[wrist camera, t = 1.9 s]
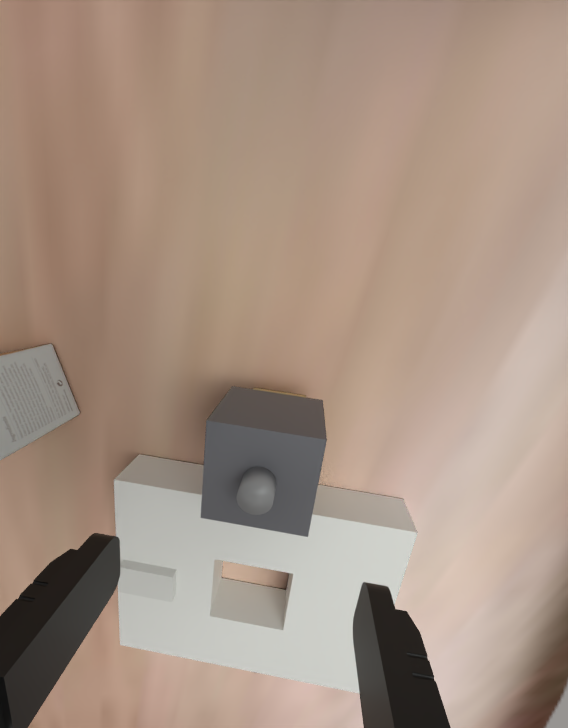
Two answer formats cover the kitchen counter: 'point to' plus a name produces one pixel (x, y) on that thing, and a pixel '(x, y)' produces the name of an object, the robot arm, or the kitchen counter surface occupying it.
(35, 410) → the small box
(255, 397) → the plug
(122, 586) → the socket plate
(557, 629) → the kitchen counter surface
